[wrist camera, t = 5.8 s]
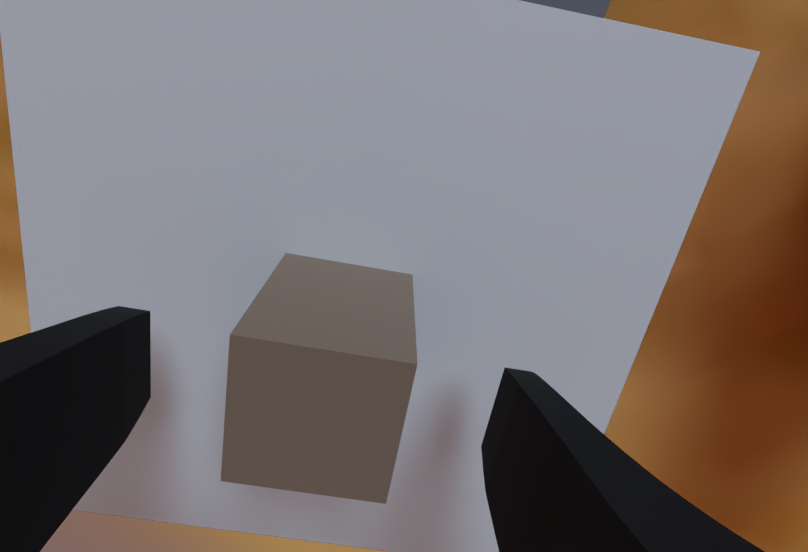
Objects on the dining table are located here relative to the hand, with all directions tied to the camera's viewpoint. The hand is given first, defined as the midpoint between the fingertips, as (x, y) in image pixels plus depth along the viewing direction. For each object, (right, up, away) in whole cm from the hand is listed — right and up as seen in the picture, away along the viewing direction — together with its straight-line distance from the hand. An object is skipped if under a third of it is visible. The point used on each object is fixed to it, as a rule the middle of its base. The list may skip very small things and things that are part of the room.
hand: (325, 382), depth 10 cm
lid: (0, +1, +3) cm, 3 cm away
